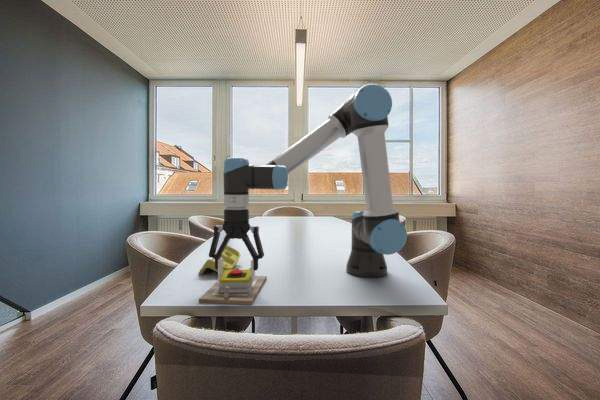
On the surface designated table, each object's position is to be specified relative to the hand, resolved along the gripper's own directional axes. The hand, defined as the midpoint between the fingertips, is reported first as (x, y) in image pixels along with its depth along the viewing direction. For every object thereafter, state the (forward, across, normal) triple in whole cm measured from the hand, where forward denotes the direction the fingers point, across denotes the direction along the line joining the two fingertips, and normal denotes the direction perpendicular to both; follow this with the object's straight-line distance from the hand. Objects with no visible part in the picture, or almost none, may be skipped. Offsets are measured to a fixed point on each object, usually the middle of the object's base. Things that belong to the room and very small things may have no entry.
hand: (236, 279), depth 99 cm
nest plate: (+3, 0, 0) cm, 3 cm away
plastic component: (+3, -12, +23) cm, 26 cm away
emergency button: (+2, 0, 0) cm, 2 cm away
